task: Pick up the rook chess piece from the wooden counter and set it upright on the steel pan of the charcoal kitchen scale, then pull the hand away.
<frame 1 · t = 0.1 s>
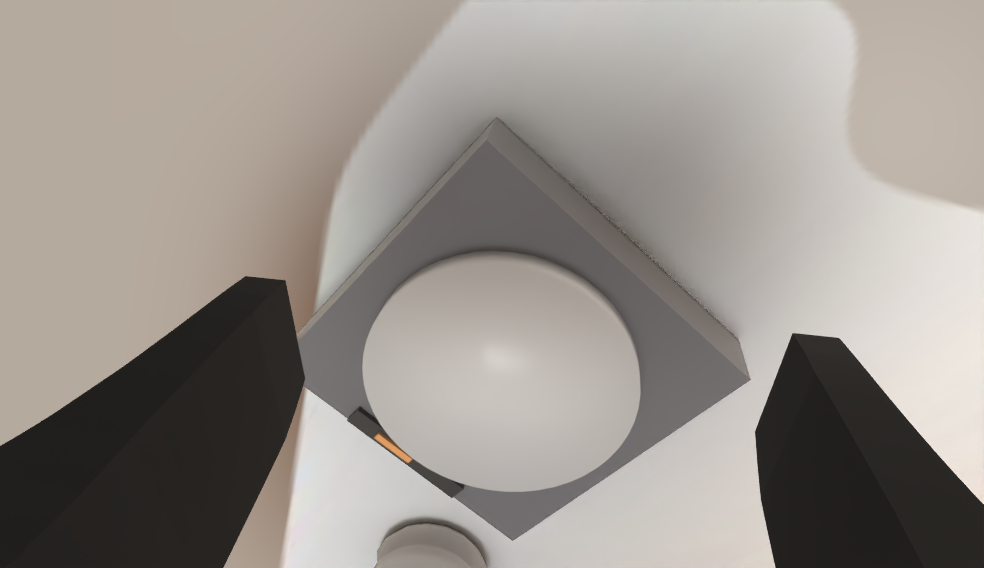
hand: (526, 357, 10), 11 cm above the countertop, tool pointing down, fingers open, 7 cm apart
rook chess piece: (435, 553, 29), on the countertop
kitchen scale: (509, 335, 23), on the countertop
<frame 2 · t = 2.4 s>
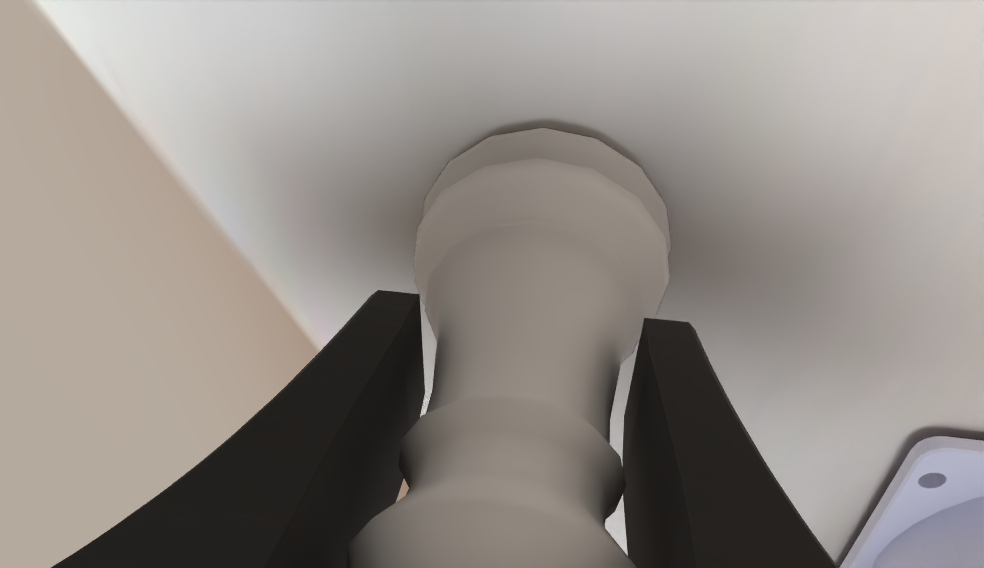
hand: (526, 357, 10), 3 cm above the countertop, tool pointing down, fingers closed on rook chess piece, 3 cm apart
rook chess piece: (545, 222, 13), on the countertop, touching gripper
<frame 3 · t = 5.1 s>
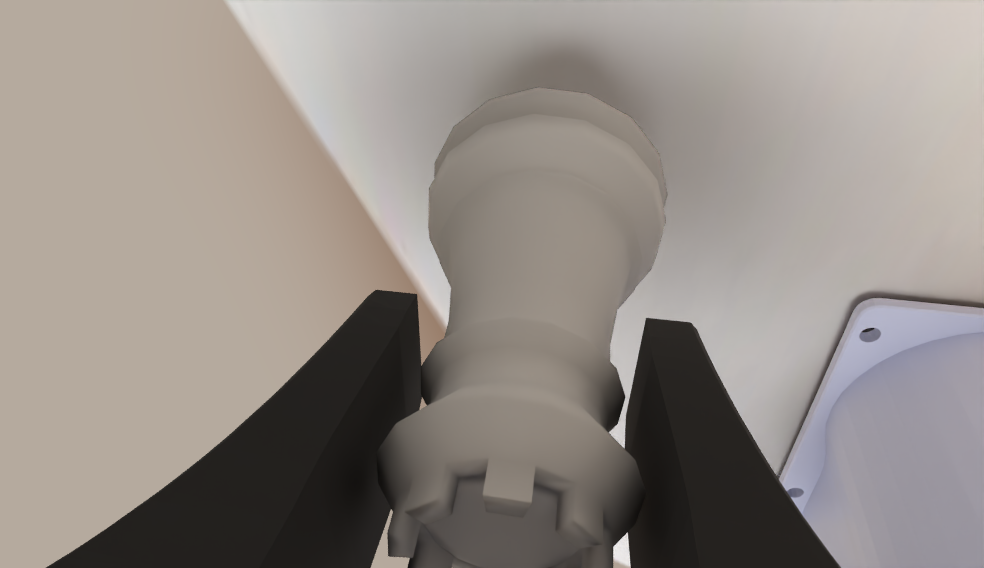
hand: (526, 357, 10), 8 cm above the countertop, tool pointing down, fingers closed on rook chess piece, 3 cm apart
rook chess piece: (549, 179, 14), point 3 cm above the countertop, touching gripper
when the fingers open (7 cm above the countertop, at t = 8.1 s): rook chess piece stays where it is, resting on kitchen scale.
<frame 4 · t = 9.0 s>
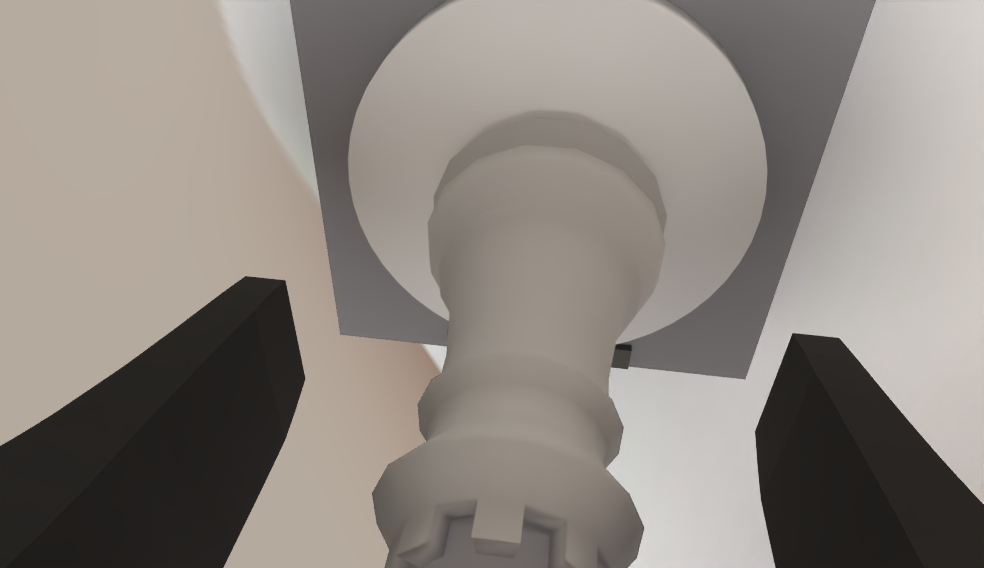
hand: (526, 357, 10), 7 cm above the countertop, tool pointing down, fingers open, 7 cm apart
rook chess piece: (549, 206, 14), point 3 cm above the countertop, touching kitchen scale
kitchen scale: (558, 134, 16), on the countertop
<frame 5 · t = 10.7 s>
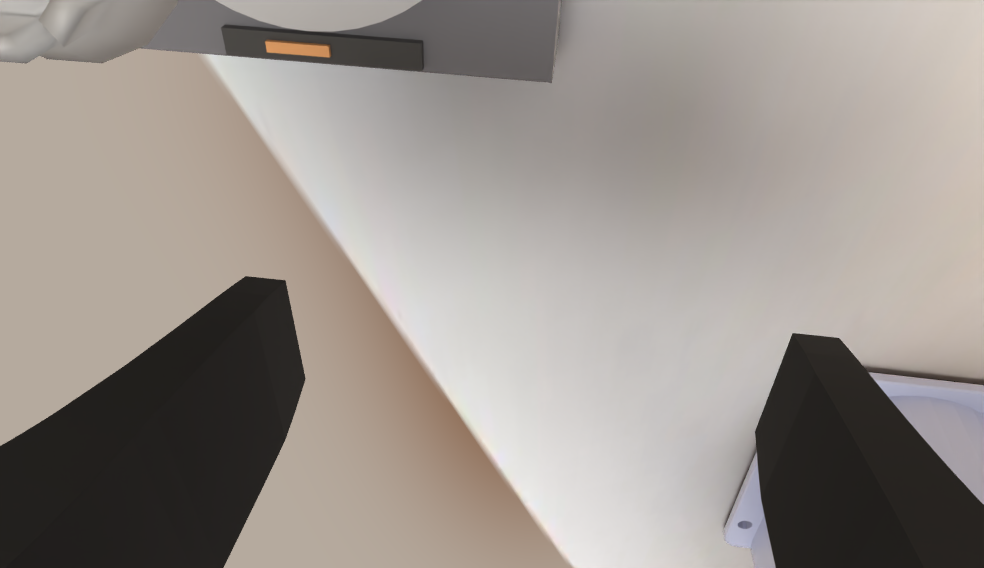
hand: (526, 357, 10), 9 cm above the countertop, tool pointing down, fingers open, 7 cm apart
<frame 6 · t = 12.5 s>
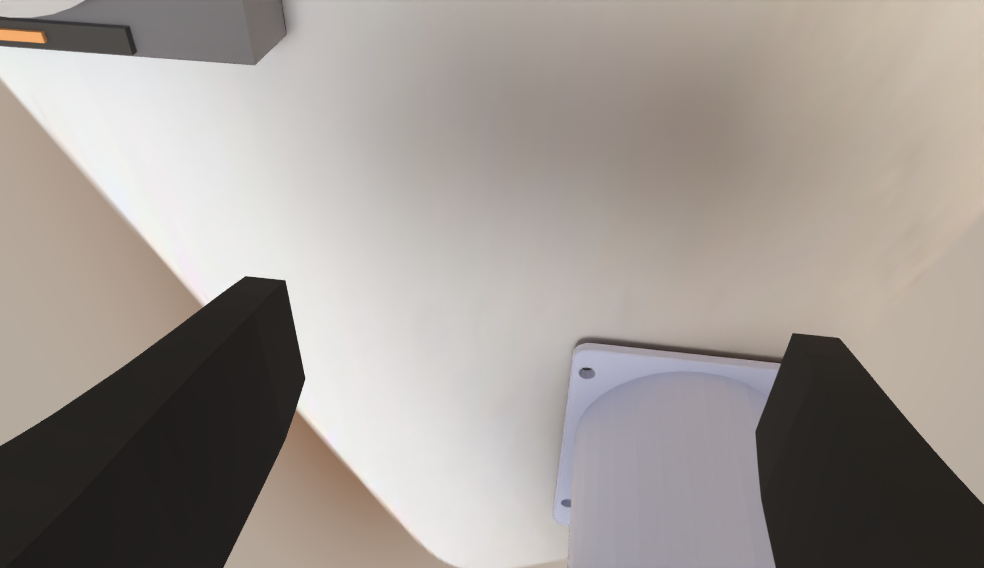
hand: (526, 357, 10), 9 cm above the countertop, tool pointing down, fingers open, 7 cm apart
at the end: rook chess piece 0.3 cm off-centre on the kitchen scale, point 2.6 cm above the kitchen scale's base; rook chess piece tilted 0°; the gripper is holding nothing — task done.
